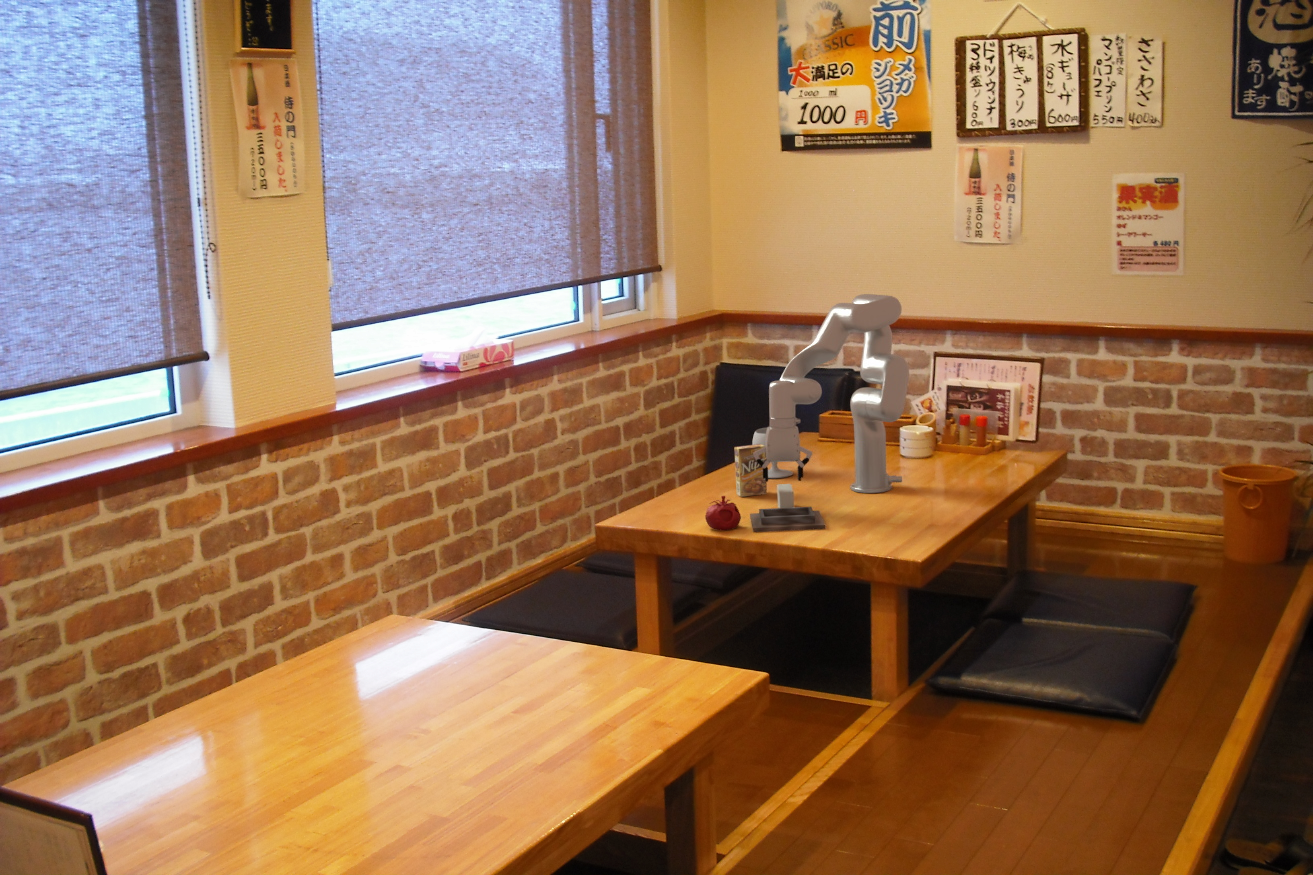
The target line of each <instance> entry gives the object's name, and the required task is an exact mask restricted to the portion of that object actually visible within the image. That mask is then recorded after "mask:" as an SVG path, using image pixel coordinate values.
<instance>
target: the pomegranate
mask: <svg viewBox="0 0 1313 875" xmlns="http://www.w3.org/2000/svg"><path fill="white" fill-rule="evenodd" d="M725 499H726V495H721V500H720V499H715V500H714V501H712V502H710V503H709V504H712V505H710V506H708V507H707V509H706V513H705V516H704V517H705V521H706V523H707V525H708V527H710V528H711V529H712V530H715V531H723V532H724V531H725V532H726V531H730V530H734V529H736V528H737V527H738V526H739V524H740V522H741V519H742V516H741V513H740V510H739V508H738V507H737V504H736V503H734V502H733V501H731V500H732V499H731V498H730V499H726V500H725ZM729 501H731V502H729ZM713 503H715V504H713Z"/></svg>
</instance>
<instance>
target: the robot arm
mask: <svg viewBox="0 0 1313 875" xmlns="http://www.w3.org/2000/svg"><path fill="white" fill-rule="evenodd" d="M901 315H902V305H901V302H900V301H899V299H898V298H896V297H895V296H893V295H887V294H886V295H885V294H873V293H872V294H871V293H870V294H869V293H864V294H863V293H862V294H859V295H856V296H855V297H854V298H852V301H851V302H850V303H849V302H839V303H836V304H834V305H833V306H831V308H830V310H829V312H828V313H827V315H826V316H825V319H824V320H823V322H822V324H821V326H820V328H819V330H818V332H817V333H816V335H815V337H814V338H813V340H812V341H811V343H810V344H809V345H808V346H806V347H805V348H804V349H802V350H801V351H800V352H799V353H797V354H796V355H794V357H793V358H792V359H790V361H789V363H788V364H787V365H786V367H785V369H784V370H783V372H782V374H781V376H780V378H779V380H774V381H771V382H770V383H769V386H768V387H769V389H768V394H769V395H768V398H769V400H768V402H769V412H768V413H769V426H767V427H766V428H767V430H766V439H765V447H763V448H762V449H760V450H758V451H756V452H754V453H753V455H754V457H755V459H756V461H757V463H758V464H759V465H760V466H762V468H763V478H765V481H766V483H767V482H769V478H768V470H769V468H768V466H769V465H770V464H771V462H778V463H791V462H796V464H797V465H798V466H797V480H798V482H802V478H804V467H805V466H806V465H807V464H808V463H809V462H810V459H811V458H812V456H813V451H811V450H810V449H807V448H805V447H804V446H801V442H800V441H801V440H800V432H799V431H800V430H799V427H798V426H797V424H801V418H797V417H796V405H812V404H814V403H816V402H817V401H819V400H820V399H821V397H822V393H823V390H822V386H821V384H820V383H819V382H818V381H817V380H814V379H813V378H807V377H805V376H806V375H808V373H810V372H811V371H812V370H813V369H814V368H816V367H819V366H820V365H822V364H826V363H828V362H830V361H832V360H833V361H834V360H835V359H836V358H837V357H838V356H839V354H840V352H841V350H842V348H843V347H844V345H845V343H846V341H847V339H848V338H849V335H850V334H851V333H857V334H859V333H861V334H862V333H863V337H864V338H863V346H862V353H861V361H860V369H859V370H860V371H859V373H860V377H861V379H862V380H863V381H865V382H866V383H869V384H875V385H881V386H882V387H881V388H876V387H870V386H869V387H867V386H866V387H860V388H858V389H856V390H855V391H854V392H853V393H852V395H851V398H850V404H849V406H850V412H851V416H852V420H853V431H854V432H853V434H854V469H855V470H854V473H855V474H854V476H855V482H852V483H851V484H850V490H852V491H854V492H857V493H864V494H875V493H876V494H877V493H885V492H888V491H891V490H892V488H893V485H892V483H902V482H903V476H901V475H889V474H888V473H887V444H886V442H887V437H886V436H887V435H886V434H887V433H886V427H885V424H884V422H886V423H893V422H896V421H898V420H899V419H900V418H901V417H902V414H904V409H905V405H906V400H907V393H908V385H909V381H910V380H909V378H910V369H909V368H910V367H909V364H908V362H907V361H906V359H905V358H904V357H903V356H901V355H898V354H892V348H893V347H892V345H893V332H892V329H891V326H890V325H892V324H894V323H896V322H897V321H898V320H899V318H900V317H901ZM764 452H765V457H766V459H765V461H764V462H763V461H762V460H761V459H760V458H759V455H761V454H762V453H764ZM801 452H802V453H804V454H806V455H805V457H804V458H803V459H801Z"/></svg>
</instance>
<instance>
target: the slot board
mask: <svg viewBox="0 0 1313 875" xmlns="http://www.w3.org/2000/svg"><path fill="white" fill-rule="evenodd" d="M758 512H759V513H758ZM758 512H755V513H751V512H750V513H749V518H750V523H751V528H752V532H753V533H764V532H765V533H767V532H788V531H789V532H790V531H809V530H810V531H811V530H826V522H825V521H824V519H823V516H822V513H821V511H820V510H818V509H817V510H813V507H812V506H797V507H795V506H794V507H793V508H779V507H776V508H774V507H773V508H760V509H758Z"/></svg>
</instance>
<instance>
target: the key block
mask: <svg viewBox="0 0 1313 875" xmlns="http://www.w3.org/2000/svg"><path fill="white" fill-rule="evenodd" d="M776 491H777V493H776V494H777V508H793V507H795V497H794V495H795V494H794V490H793V487H792V484H791V483H784V484H783V483H780V484H776Z"/></svg>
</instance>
